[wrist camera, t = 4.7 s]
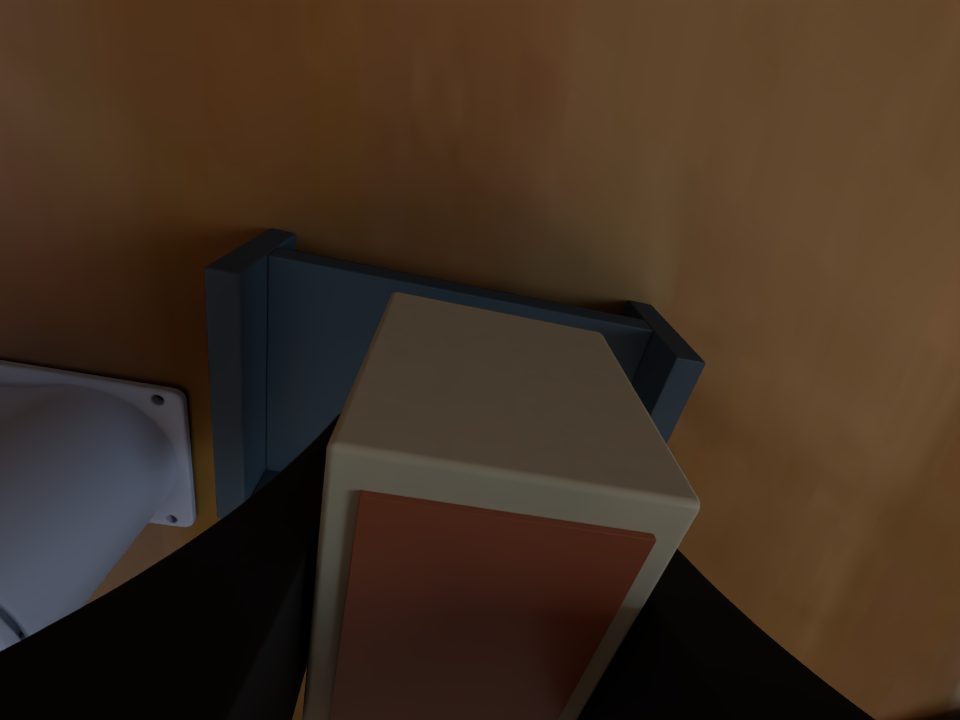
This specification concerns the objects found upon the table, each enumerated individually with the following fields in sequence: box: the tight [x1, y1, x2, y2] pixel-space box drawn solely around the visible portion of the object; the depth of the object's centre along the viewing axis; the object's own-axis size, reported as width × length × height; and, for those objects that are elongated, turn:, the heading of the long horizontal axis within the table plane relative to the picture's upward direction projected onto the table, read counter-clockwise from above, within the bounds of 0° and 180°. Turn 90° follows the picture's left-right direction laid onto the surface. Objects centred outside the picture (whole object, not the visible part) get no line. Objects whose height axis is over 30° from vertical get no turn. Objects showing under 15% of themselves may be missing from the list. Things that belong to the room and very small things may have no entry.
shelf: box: [204, 229, 705, 518], centre depth 18 cm, size 15×10×5 cm, turn 78°
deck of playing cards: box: [302, 292, 700, 720], centre depth 8 cm, size 4×7×5 cm, turn 168°
